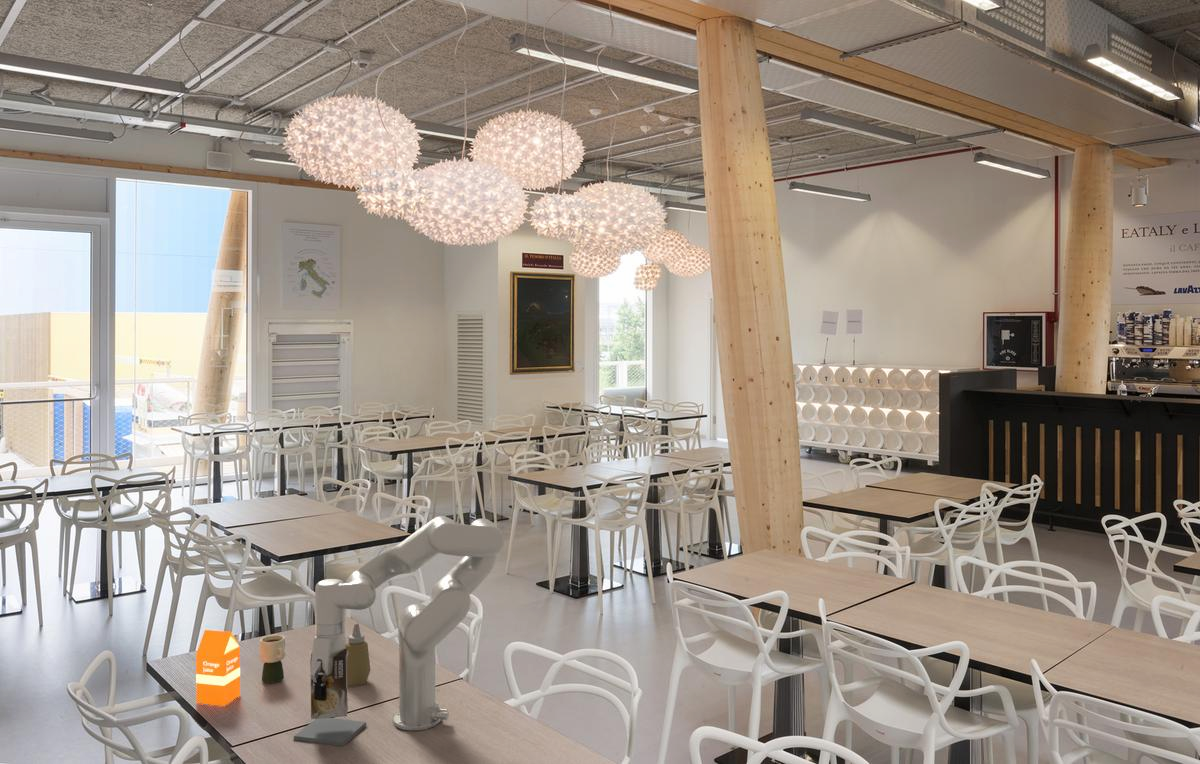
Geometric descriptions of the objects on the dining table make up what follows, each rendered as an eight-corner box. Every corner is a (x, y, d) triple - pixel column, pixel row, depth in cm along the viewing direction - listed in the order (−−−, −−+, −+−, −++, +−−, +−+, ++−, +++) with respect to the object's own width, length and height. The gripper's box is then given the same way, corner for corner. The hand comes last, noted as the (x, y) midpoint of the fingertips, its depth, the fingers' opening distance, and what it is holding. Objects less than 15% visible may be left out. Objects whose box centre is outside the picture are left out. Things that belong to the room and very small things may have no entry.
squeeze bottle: (353, 690, 257) (353, 630, 256) (337, 683, 261) (336, 624, 261) (376, 682, 263) (375, 623, 262) (359, 675, 268) (359, 617, 267)
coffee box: (348, 706, 233) (348, 647, 232) (346, 717, 226) (347, 656, 226) (312, 709, 231) (312, 649, 230) (309, 719, 224) (309, 658, 224)
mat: (366, 725, 233) (366, 722, 233) (343, 745, 221) (343, 742, 221) (319, 720, 236) (318, 716, 236) (293, 739, 225) (293, 735, 225)
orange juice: (224, 706, 244) (223, 636, 243) (196, 704, 246) (195, 634, 245) (240, 695, 252) (240, 627, 251) (213, 693, 254) (212, 625, 253)
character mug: (293, 681, 262) (293, 639, 262) (272, 689, 257) (271, 645, 256) (273, 673, 269) (273, 631, 269) (252, 680, 264) (251, 637, 263)
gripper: (334, 616, 237) (334, 679, 238) (298, 637, 220) (298, 704, 221) (359, 618, 235) (359, 682, 236) (325, 639, 218) (325, 708, 219)
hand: (329, 692), depth 228 cm, fingers closed on coffee box, 8 cm apart
